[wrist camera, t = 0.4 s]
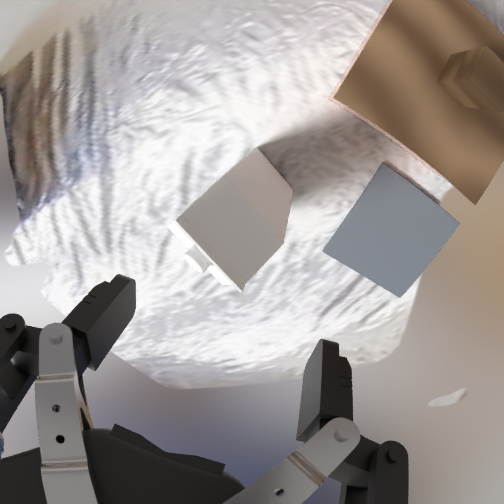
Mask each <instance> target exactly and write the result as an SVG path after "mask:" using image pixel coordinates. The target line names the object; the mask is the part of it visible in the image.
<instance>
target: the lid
mask: <svg viewBox="0 0 504 504" xmlns="http://www.w3.org/2000/svg"><path fill="white" fill-rule="evenodd" d="M334 99H336V100H337V101H339V102H341V103H342V104H344V105H345V106H347V107H349V108H350V109H352V110H353V111H355V112H357V113H358V114H360V115H361V116H363V117H364V118H366V119H367V120H369V121H370V122H372V123H373V124H375V125H376V126H378V127H379V128H381V129H382V130H384V131H385V132H386V133H388V134H389V135H391V136H392V137H393V138H395V139H396V140H398V141H399V142H400V143H402V144H403V145H404V146H406V147H407V148H408V149H410V150H411V151H412V152H414V153H415V154H416V155H417V156H419V157H420V158H421V159H422V160H424V161H425V162H426V163H427V164H429V165H430V166H431V167H432V168H434V169H435V170H436V171H437V172H438V173H440V174H441V175H442V176H443V177H444V178H445V179H447V180H448V181H449V182H450V183H451V184H452V185H453V186H454V187H456V188H457V189H458V190H459V191H460V192H461V193H462V194H463V195H464V196H466V197H467V198H468V199H469V200H470V201H471V202H472V203H474V204H475V205H476V203H477V202H478V200H479V199H480V197H481V196H482V194H483V193H484V191H485V190H486V188H487V187H488V185H489V184H490V182H491V180H492V179H493V177H494V176H495V174H496V172H497V171H498V169H499V167H500V165H501V164H502V162H503V161H504V35H503V34H502V33H501V32H500V31H499V30H498V29H497V28H496V27H495V26H494V25H493V24H492V23H491V22H490V21H489V20H488V19H486V18H485V17H484V16H483V15H482V14H481V13H480V12H479V11H478V10H476V9H475V8H474V7H473V6H472V5H471V4H469V3H468V2H467V1H466V0H392V2H391V3H390V5H389V7H388V8H387V10H386V12H385V13H384V15H383V17H382V18H381V20H380V21H379V23H378V25H377V26H376V28H375V30H374V31H373V33H372V35H371V36H370V38H369V40H368V41H367V43H366V44H365V46H364V48H363V49H362V51H361V53H360V54H359V56H358V58H357V59H356V61H355V63H354V64H353V66H352V68H351V69H350V71H349V73H348V74H347V76H346V78H345V79H344V81H343V83H342V84H341V86H340V88H339V89H338V91H337V93H336V94H335V96H334Z"/></svg>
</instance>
